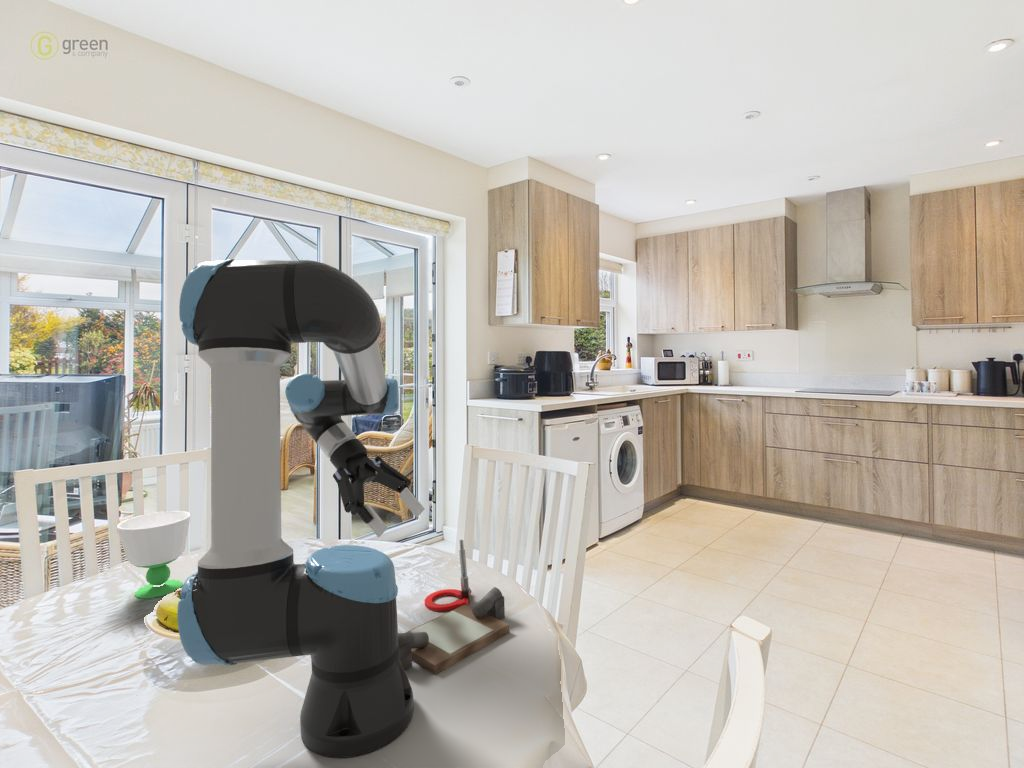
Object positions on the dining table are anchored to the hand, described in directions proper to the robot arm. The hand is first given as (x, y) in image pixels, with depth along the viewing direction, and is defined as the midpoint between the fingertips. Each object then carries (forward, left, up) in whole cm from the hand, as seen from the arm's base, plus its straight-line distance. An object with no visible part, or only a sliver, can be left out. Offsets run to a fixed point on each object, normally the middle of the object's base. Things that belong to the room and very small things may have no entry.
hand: (403, 522), depth 113 cm
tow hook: (+3, -10, -16) cm, 19 cm away
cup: (-35, +44, -16) cm, 58 cm away
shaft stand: (-6, -22, -15) cm, 27 cm away
